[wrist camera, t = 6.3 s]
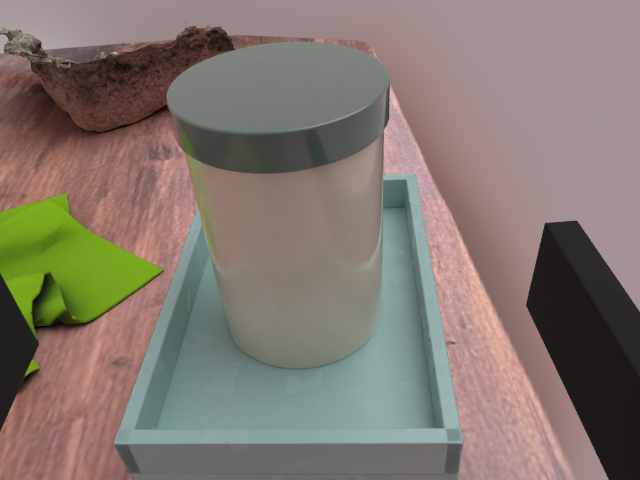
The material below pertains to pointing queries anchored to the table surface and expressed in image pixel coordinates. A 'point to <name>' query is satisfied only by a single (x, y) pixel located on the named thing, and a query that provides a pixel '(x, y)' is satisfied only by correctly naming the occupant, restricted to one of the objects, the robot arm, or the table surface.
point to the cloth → (63, 266)
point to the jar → (290, 193)
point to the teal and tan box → (299, 383)
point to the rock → (117, 75)
